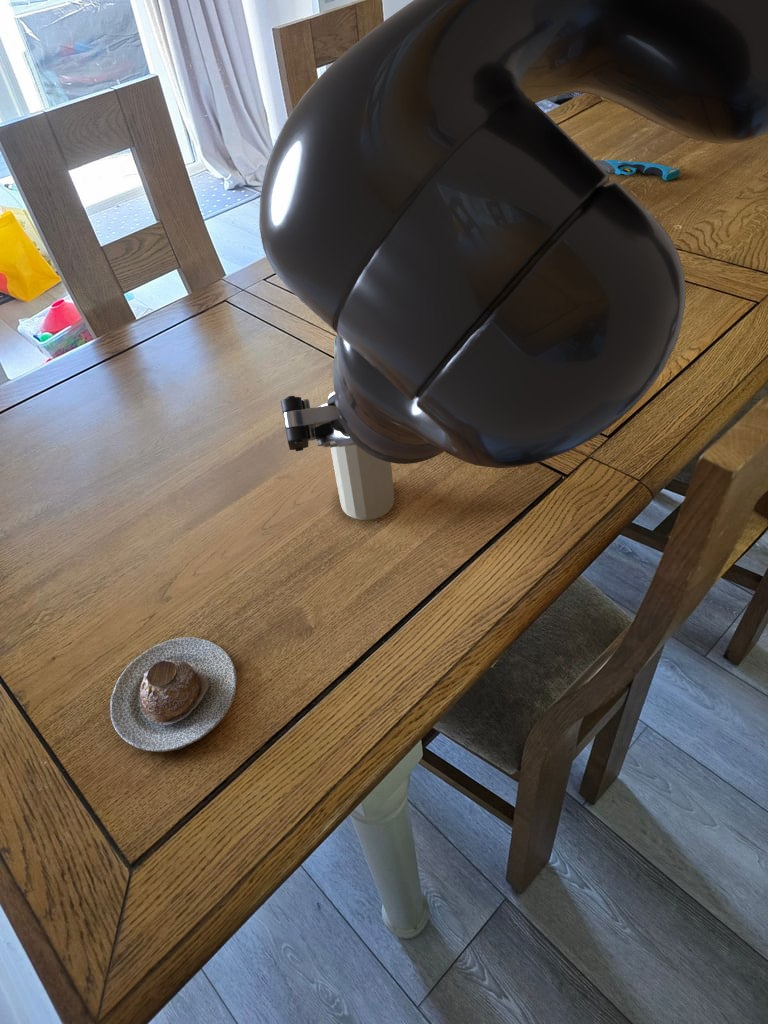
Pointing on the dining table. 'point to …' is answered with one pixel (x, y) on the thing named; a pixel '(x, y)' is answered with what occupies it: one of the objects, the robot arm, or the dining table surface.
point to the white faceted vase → (362, 482)
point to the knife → (638, 168)
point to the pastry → (173, 694)
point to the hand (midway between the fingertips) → (390, 422)
